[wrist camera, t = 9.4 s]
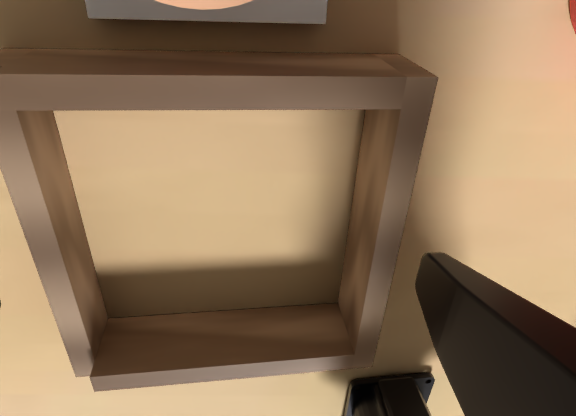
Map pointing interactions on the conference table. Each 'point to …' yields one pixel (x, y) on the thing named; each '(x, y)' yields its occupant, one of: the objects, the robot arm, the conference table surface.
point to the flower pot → (573, 13)
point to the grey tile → (213, 11)
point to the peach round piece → (204, 3)
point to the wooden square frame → (211, 96)
